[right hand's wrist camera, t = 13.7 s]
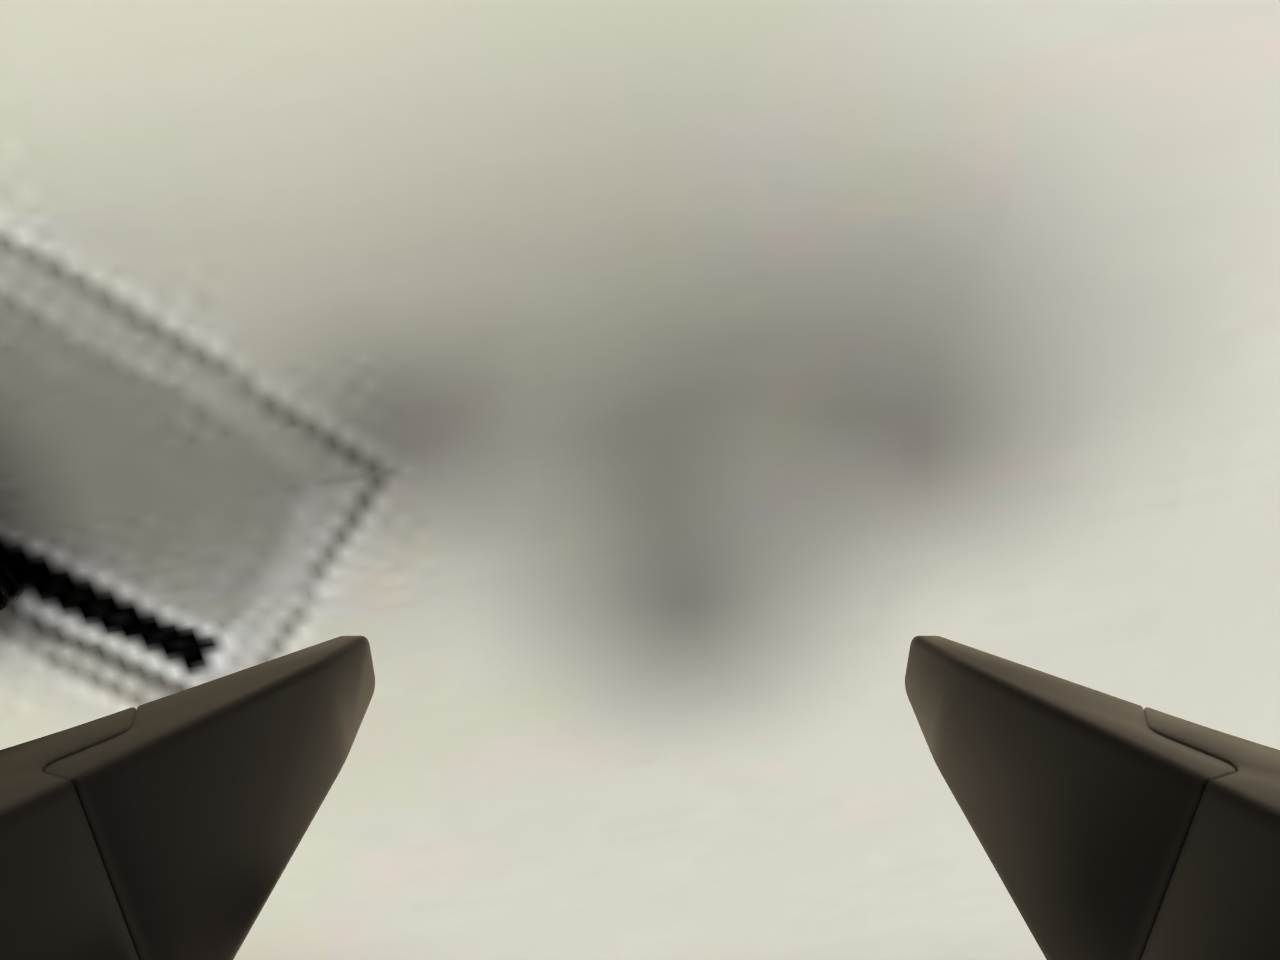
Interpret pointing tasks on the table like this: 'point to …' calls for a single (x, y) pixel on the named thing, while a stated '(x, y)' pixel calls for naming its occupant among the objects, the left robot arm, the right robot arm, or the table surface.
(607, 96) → the table surface
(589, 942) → the table surface
